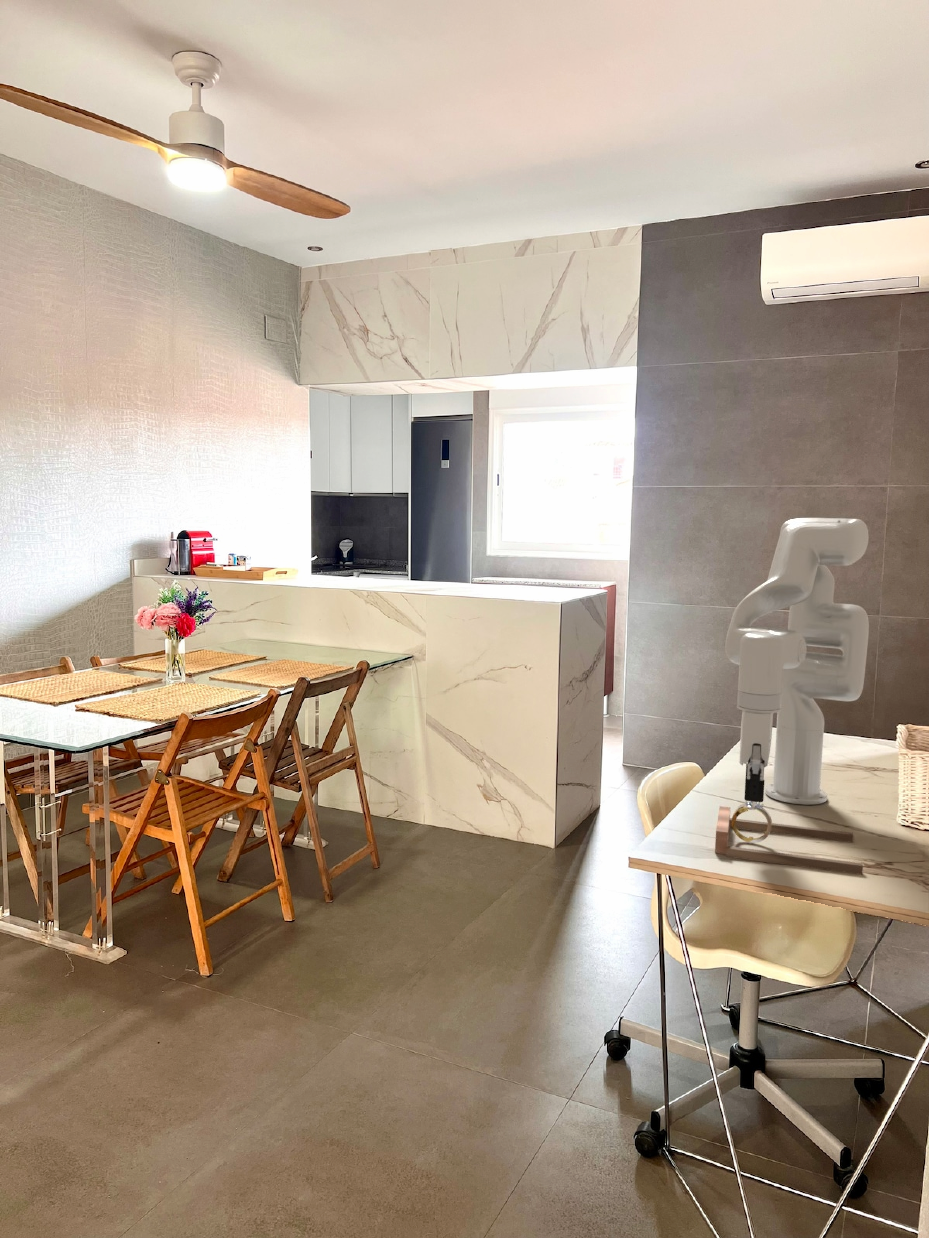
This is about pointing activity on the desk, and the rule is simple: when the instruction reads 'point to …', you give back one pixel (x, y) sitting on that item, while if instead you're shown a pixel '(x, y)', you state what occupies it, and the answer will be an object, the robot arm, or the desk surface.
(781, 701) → the robot arm
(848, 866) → the channel
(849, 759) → the desk surface
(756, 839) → the ring
